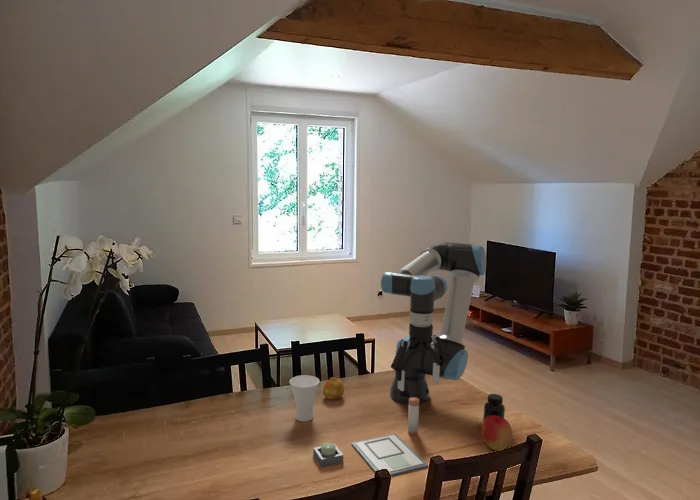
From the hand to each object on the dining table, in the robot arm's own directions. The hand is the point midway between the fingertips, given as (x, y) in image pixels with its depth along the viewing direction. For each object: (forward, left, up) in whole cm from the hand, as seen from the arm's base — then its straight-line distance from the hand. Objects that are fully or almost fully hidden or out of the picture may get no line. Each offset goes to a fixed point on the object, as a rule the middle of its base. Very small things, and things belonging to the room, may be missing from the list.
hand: (418, 386), depth 171 cm
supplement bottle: (+7, +26, -17) cm, 32 cm away
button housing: (+3, -33, -17) cm, 37 cm away
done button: (+3, -33, -17) cm, 37 cm away
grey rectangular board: (+8, -15, -17) cm, 24 cm away
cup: (-25, -31, -17) cm, 43 cm away
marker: (-1, -1, -17) cm, 17 cm away
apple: (+17, +19, -17) cm, 31 cm away
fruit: (-36, -15, -17) cm, 43 cm away
